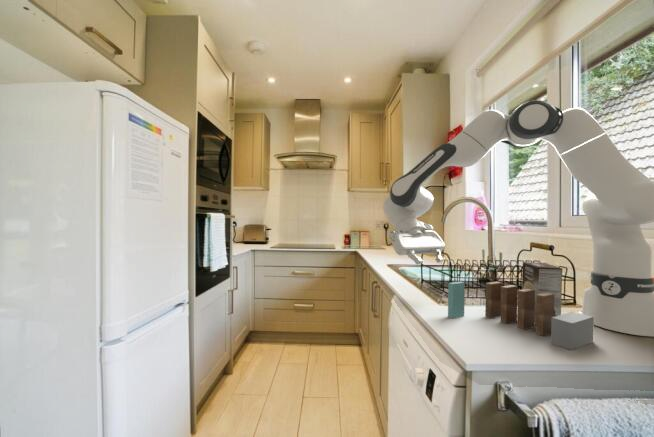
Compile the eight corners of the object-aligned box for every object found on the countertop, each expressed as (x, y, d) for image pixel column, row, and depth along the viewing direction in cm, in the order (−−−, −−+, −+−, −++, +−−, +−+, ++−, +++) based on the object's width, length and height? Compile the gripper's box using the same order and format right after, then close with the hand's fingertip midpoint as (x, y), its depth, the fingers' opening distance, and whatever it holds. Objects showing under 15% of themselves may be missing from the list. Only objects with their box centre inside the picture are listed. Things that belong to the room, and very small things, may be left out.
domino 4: (517, 327, 75) (517, 290, 75) (527, 324, 77) (528, 288, 77) (523, 329, 74) (524, 291, 74) (534, 326, 76) (535, 289, 76)
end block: (572, 335, 70) (573, 311, 70) (593, 341, 67) (593, 316, 67) (551, 342, 66) (551, 317, 66) (571, 350, 62) (572, 323, 62)
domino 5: (535, 333, 71) (536, 294, 71) (546, 330, 73) (547, 292, 73) (542, 336, 70) (543, 296, 70) (553, 332, 72) (554, 294, 72)
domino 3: (500, 321, 79) (501, 286, 79) (511, 319, 81) (511, 284, 81) (506, 323, 78) (506, 287, 78) (516, 321, 80) (517, 286, 80)
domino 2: (485, 316, 83) (485, 283, 83) (495, 314, 86) (496, 281, 85) (490, 318, 82) (491, 284, 82) (501, 315, 84) (501, 282, 84)
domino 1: (447, 316, 83) (448, 282, 83) (459, 314, 85) (460, 281, 85) (452, 318, 81) (453, 284, 81) (464, 316, 83) (464, 282, 83)
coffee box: (520, 313, 87) (521, 261, 86) (543, 315, 85) (544, 262, 85) (536, 324, 78) (537, 266, 77) (562, 326, 76) (563, 267, 76)
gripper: (391, 225, 94) (411, 258, 86) (435, 225, 103) (457, 255, 95) (382, 237, 98) (401, 270, 90) (425, 236, 107) (446, 266, 99)
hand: (430, 262), depth 92 cm, fingers open, 8 cm apart
